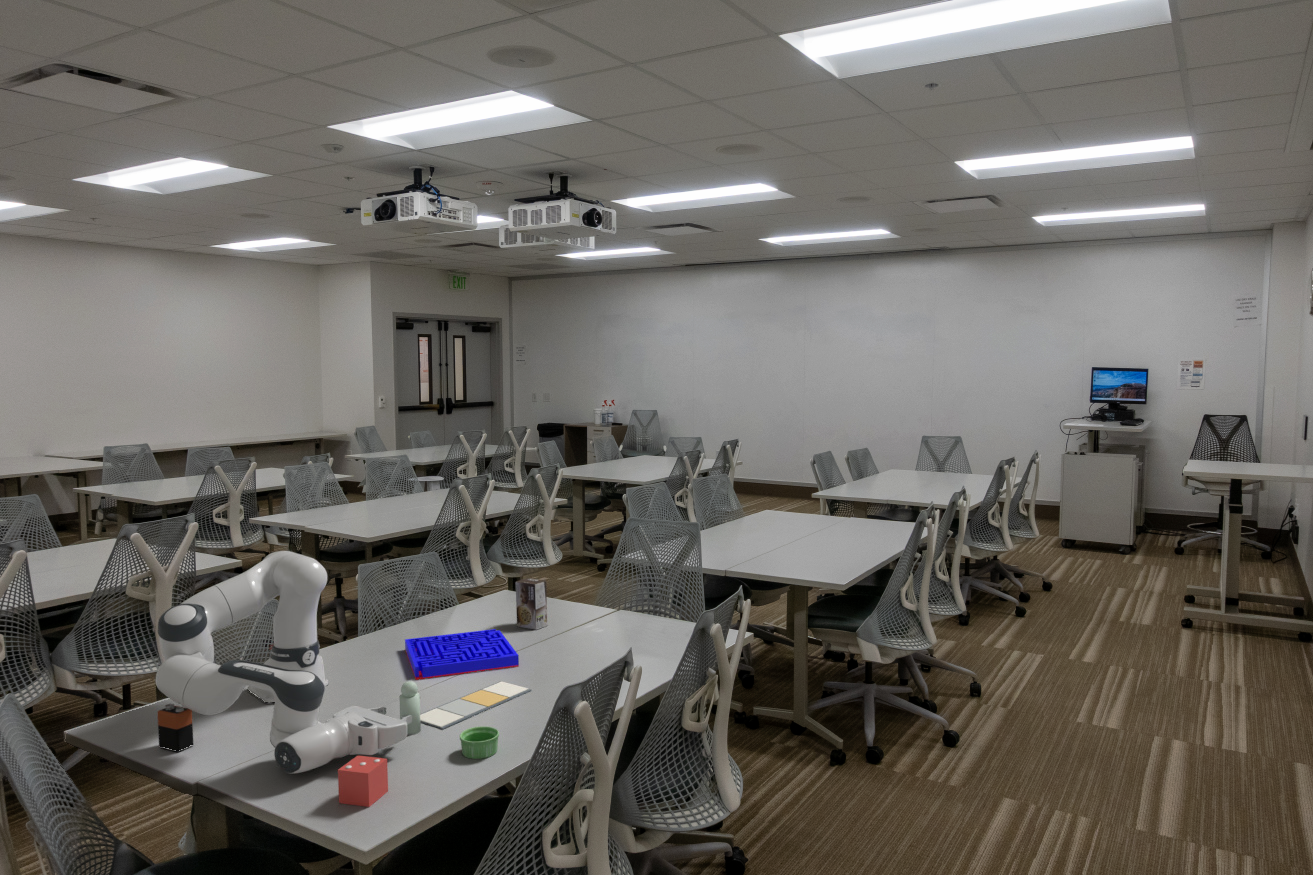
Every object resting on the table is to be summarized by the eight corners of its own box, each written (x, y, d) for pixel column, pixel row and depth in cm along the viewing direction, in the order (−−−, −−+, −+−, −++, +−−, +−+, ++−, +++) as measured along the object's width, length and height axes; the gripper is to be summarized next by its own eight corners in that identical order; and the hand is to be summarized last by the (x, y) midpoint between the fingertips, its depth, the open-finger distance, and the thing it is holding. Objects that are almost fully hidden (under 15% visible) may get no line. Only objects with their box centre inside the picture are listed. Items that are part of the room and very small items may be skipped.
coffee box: (548, 625, 305) (547, 580, 304) (536, 630, 300) (535, 583, 299) (527, 621, 310) (527, 577, 309) (515, 626, 305) (514, 580, 304)
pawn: (396, 732, 215) (394, 682, 214) (411, 725, 219) (410, 676, 218) (409, 736, 212) (407, 686, 211) (424, 729, 216) (423, 680, 215)
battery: (174, 741, 210) (172, 700, 210) (194, 745, 207) (192, 704, 207) (158, 748, 206) (156, 707, 206) (178, 753, 203) (176, 711, 203)
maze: (518, 668, 263) (518, 655, 262) (415, 681, 252) (415, 668, 251) (498, 640, 291) (498, 628, 290) (405, 651, 280) (404, 639, 279)
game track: (410, 718, 223) (410, 717, 223) (500, 682, 249) (500, 680, 249) (442, 729, 216) (442, 727, 216) (531, 690, 242) (531, 688, 242)
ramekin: (452, 752, 203) (452, 733, 203) (485, 740, 209) (485, 722, 209) (473, 764, 197) (473, 745, 196) (507, 751, 203) (506, 733, 203)
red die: (339, 802, 179) (337, 768, 178) (358, 787, 186) (357, 754, 185) (369, 806, 177) (368, 772, 177) (388, 790, 184) (387, 757, 183)
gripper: (321, 736, 206) (370, 717, 217) (376, 757, 194) (425, 735, 206) (320, 710, 205) (369, 692, 217) (376, 729, 194) (424, 709, 205)
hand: (397, 713), depth 211 cm, fingers open, 8 cm apart
